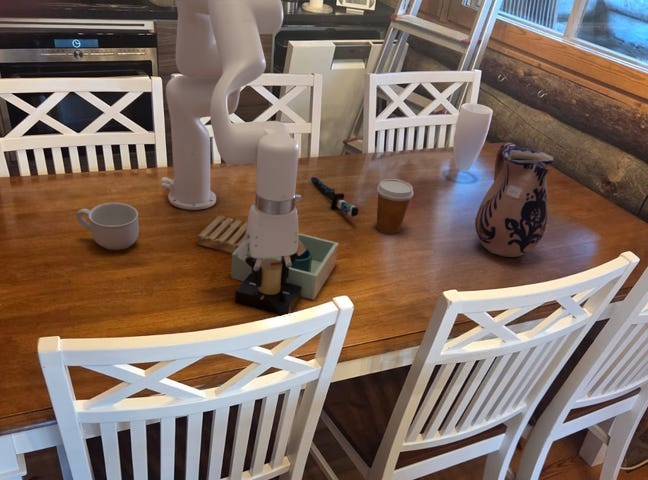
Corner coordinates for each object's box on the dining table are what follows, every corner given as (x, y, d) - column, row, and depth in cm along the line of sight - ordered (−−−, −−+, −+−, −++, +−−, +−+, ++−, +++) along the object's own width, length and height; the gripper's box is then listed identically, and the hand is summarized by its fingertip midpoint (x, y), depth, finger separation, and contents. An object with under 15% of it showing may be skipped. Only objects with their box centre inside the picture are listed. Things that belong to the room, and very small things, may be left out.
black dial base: (234, 304, 133) (234, 291, 131) (250, 283, 140) (251, 271, 138) (287, 318, 131) (288, 306, 129) (301, 297, 138) (302, 285, 136)
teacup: (149, 240, 150) (147, 209, 145) (123, 260, 142) (120, 228, 137) (98, 226, 153) (94, 195, 148) (70, 245, 145) (65, 213, 140)
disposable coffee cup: (410, 226, 171) (419, 184, 163) (398, 240, 164) (407, 197, 156) (377, 216, 173) (385, 175, 166) (365, 229, 166) (372, 187, 159)
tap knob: (261, 295, 131) (263, 269, 127) (255, 283, 134) (256, 257, 130) (283, 293, 133) (285, 267, 129) (276, 281, 136) (278, 256, 132)
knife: (358, 224, 166) (360, 207, 163) (347, 224, 165) (349, 208, 162) (318, 187, 189) (319, 172, 187) (308, 187, 188) (310, 172, 186)
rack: (196, 246, 150) (195, 234, 148) (217, 225, 159) (217, 214, 158) (242, 258, 148) (243, 246, 146) (261, 236, 157) (262, 225, 155)
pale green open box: (231, 278, 141) (231, 254, 137) (259, 246, 154) (260, 223, 150) (313, 300, 137) (316, 276, 134) (335, 265, 150) (338, 242, 146)
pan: (313, 268, 147) (316, 249, 144) (304, 282, 141) (306, 263, 138) (264, 256, 149) (265, 237, 146) (253, 269, 144) (254, 250, 141)
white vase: (478, 184, 199) (497, 115, 186) (446, 181, 199) (462, 111, 185) (472, 171, 207) (490, 104, 194) (441, 168, 207) (457, 100, 193)
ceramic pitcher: (497, 270, 157) (529, 174, 141) (447, 231, 171) (471, 140, 155) (549, 260, 164) (584, 167, 148) (497, 224, 178) (524, 135, 162)
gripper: (309, 191, 127) (301, 269, 138) (226, 196, 121) (225, 277, 132) (322, 207, 121) (313, 287, 133) (237, 213, 116) (235, 296, 127)
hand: (269, 281), depth 132 cm, fingers closed on tap knob, 4 cm apart
